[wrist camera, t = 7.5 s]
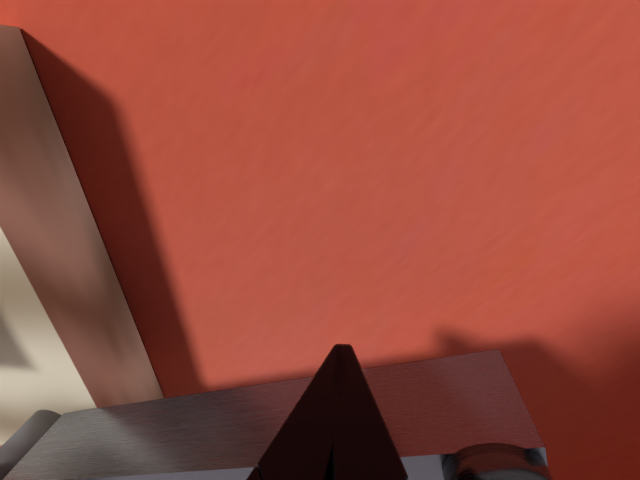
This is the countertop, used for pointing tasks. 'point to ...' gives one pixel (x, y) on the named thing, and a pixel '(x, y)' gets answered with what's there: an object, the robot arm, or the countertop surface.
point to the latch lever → (274, 407)
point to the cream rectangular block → (53, 278)
